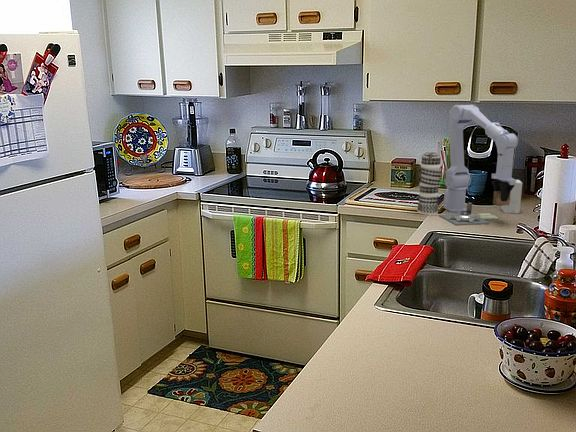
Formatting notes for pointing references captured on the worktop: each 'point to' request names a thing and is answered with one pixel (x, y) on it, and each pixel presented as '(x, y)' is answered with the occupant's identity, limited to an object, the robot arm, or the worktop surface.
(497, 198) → the link block
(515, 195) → the small box
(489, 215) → the timing pad
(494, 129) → the robot arm
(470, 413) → the worktop surface
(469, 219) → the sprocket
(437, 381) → the worktop surface
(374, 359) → the worktop surface
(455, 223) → the slate board
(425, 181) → the decorative candle
